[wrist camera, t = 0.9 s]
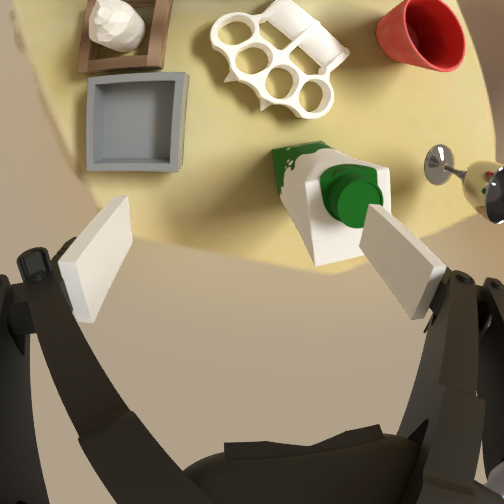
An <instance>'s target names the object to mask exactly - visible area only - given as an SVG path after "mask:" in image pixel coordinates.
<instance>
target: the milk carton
mask: <svg viewBox="0 0 504 504" xmlns="http://www.w3.org/2000/svg"><path fill="white" fill-rule="evenodd" d="M272 151H273V159H274V168H275V175H276V182H277V188H278V193H279V197H280V199H281V201H282V203H283V205H284V206H285V208H286V210H287V212H288V214H289V215H290V217H291V219H292V221H293V222H294V224H295V227H296V228H297V230H298V231H299V233H300V235H301V237H302V239H303V241H304V244H305V246H306V248H307V250H308V252H309V254H310V256H311V258H312V261H313V263H314V266H315V267H317V266H322V265H326V264H330V263H334V262H338V261H342V260H346V259H350V258H354V257H358V256H362V255H365V254H364V253H363V252H362V250H361V249H360V248H359V244H360V240H361V236H362V231H363V227H364V223H365V219H366V214H367V210H368V205H369V204H376V205H381V206H382V207H383V208H384V209H386V210H387V211H388V212H389V213H390V214H391V193H390V172H389V168H388V167H384V166H381V165H377V164H374V163H370V162H366V161H363V160H359V159H355V158H352V157H350V156H348V155H346V154H343V153H341V152H339V151H337V150H335V149H333V148H331V147H329V146H328V145H327V144H325V143H324V142H322V141H319V142H312V143H306V144H300V145H295V146H289V147H284V148H278V149H273V150H272ZM391 215H392V214H391Z"/></svg>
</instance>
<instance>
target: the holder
mask: <svg viewBox="0 0 504 504" xmlns="http://www.w3.org/2000/svg"><path fill="white" fill-rule="evenodd" d="M121 1H124V2H126V3H128V4H129V5H130V6H131V7H142V6H155V8H154V14H153V20H152V26H151V33H150V40H149V48H148V55H137V56H124V57H113V58H105V59H98V50H99V44H98V43H96V42H94V41H92V40H91V39H90V38H89V18H90V15H91V12H92V10H93V7H94V6H95V4H96V0H88V3H87V8H86V13H85V18H84V24H83V30H82V36H81V43H80V50H79V58H78V68H77V73H80V74H92V73H100V72H110V71H121V70H135V69H161V68H163V65H164V57H165V48H166V41H167V34H168V27H169V20H170V14H171V8H172V2H173V0H121Z"/></svg>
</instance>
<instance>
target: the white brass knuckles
mask: <svg viewBox="0 0 504 504" xmlns="http://www.w3.org/2000/svg"><path fill="white" fill-rule="evenodd" d="M235 21H239V22H243V23H245V24H247V25H248V26H249V27H250V29H251V31H252V36H251V37H250V38H249V39H248V40H246V41H244V42H242V43H240V44H238V45H227V44H224V43H223V42H221V41H220V40H219V38H218V36H217V34H218V32H219V30H220V29H221V28H222V27H223V26H225V25H227V24H229V23H231V22H235ZM266 21H268V22H269V23H271V24H272V25H273V26H274V27H276V28H277V29H278V30H279V31H281V32H282V33H283V34H284V35H286V36H287V37H288V38H289V39H290V40H292V42H290V43H289V44H288V45H287V46H286V47H285V48H284V49H283V50H278V49H276V48H275V47H274V46H272V45H271V44H270V43H269V42H267V41H266V40H265V39H264V38H262V37H261V36H260V34H259V24H261V23H265V22H266ZM210 41H211V45H212V48H213V50H216V51H218V52H220V53H221V54H222V55H224V57H225V58H226V59H227V61H228V64H229V71H230V72H229V74H228V75H227V77H226V79H225V80H224V82H230V81H238V82H240V83H244V84H246V85H248V86H249V87H251V88H252V89H253V90H254V92H255V93H256V95H257V98H259V99H260V112H261V111H262V110H264V109H265V108H267V107H268V106H269V105H271V104H274V105H276V104H279V105H283V106H285V107H287V108H289V109H290V110H291V111H292V112H293V113H294V115H295V116H296V117H299V118H303V119H317V118H320V117H322V116H324V115H325V114H326V113H327V112H328V111H329V110H330V108H331V107H332V104H333V100H334V92H333V88H332V86H331V84H330V82H329V76H330V72H331V71H333V70H334V69H335V68H336V67H337V66H339V65H340V64H341V63H342V62H343V61H344V60H345V59H346V58H347V57H348V56H349V54H350V52H349V50H348V49H347V48H346V47H344V46H343V45H342V44H341V43H340V42H339V41H338V40H337V39H336V38H334V37H333V36H332V35H331V34H330V33H329V32H328V31H327V30H326V29H325V28H324V27H323V26H321V25H320V22H319V21H318V20H315V19H313V18H312V17H311V16H310V15H309V14H308V13H306V12H305V11H304V10H303V9H302V8H300V7H299V6H298V5H297V4H295V3H294V2H293V1H292V0H275V1H274V2H273V3H272V4H271V5H270V6H269V7H267V8H266V9H265V10H264V11H263V12H262V14H257V15H249V14H247V13H242V12H232V13H228V14H225V15H223V16H221V17H220V18H219V19H217V20H216V21H215V23H214V24H213V26H212V28H211V31H210ZM297 46H299V47H300V48H301V49H302V50H303V51H304V52H305V53H306V54H308V55H309V56H310V57H311V58H312V59H313V60H314V61H315V62H316V63H317V64H318V65H320V66H321V67H320V68H319V70H318V75H306V74H305V73H304V72H303V71H301V70H300V69H299V68H298V67H297V66H296V65H295V64H294V63H292V62H291V61H290V59H289V54H290V52H291V51H292V50H294V49H295V48H296V47H297ZM251 47H256V48H260V49H262V50H263V51H264V52H265V53H266V54H267V56H268V65H267V67H266V68H265V69H264V70H262V71H260V72H259V73H256V74H245V73H243V72H241V71H240V70H239V69H238V68H237V67H236V65H235V57H236V56H237V55H238V54H239V53H240V52H242V51H244V50H245V49H247V48H251ZM273 68H283V69H285V70H287V71H288V72H289V73H290V74H291V76H292V78H293V85H292V87H291V89H290V91H289V93H288V95H287V96H285V97H284V98H282V99H276V98H273V97H272V96H270V95H269V94H268V93H267V91H266V89H265V80H266V78H267V76H268V74H269V72H270V71H271V70H272V69H273ZM307 81H313V82H315V83H317V84H318V85H319V86H320V87H321V89H322V92H323V97H322V100H321V102H320V104H319V106H318V108H317V109H315V110H314V111H311V112H307V111H305V110H304V109H303V108H302V107H301V106H300V104H299V100H298V96H299V92H300V90H301V88H302V86H303V85H304V84H305V83H306V82H307ZM224 82H223V83H224Z"/></svg>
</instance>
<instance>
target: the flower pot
mask: <svg viewBox="0 0 504 504" xmlns="http://www.w3.org/2000/svg"><path fill="white" fill-rule="evenodd" d="M376 37H377V41H378V43H379V45H380V47H381V49H382V50H383V51H384V52H385V53H386V54H387V55H388V56H389V57H390V58H392V59H393V60H395V61H398V62H402V63H406V64H410V65H414V66H418V67H422V68H426V69H431V70H435V71H440V72H450V71H453V70H455V69H456V68H458V67H459V65H460V64H461V63H462V61H463V58H464V55H465V37H464V33H463V30H462V27H461V25H460V23H459V21H458V19H457V17H456V16H455V14H454V13H453V11H452V10H451V9H450V8H449V7H448V6H447V5H446V4H445V3H444V2H443V1H441V0H404V1H403V2H401V3H400V4H399V5H397V6H396V7H395V8H393V9H392V10H391V11H390V12H388V13H387V14H386V15H385V16H384V17H383V18H382V19H381V20H380V21H379V22H378V24H377V27H376Z"/></svg>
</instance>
